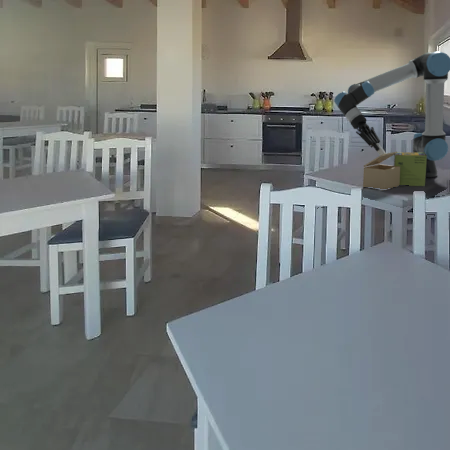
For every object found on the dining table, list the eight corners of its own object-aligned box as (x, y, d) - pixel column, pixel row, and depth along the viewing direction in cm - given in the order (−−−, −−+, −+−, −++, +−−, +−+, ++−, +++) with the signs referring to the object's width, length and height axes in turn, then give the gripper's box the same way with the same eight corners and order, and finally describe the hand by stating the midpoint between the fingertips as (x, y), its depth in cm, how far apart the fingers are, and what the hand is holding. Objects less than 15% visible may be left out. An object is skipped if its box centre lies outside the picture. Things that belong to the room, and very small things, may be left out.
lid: (379, 163, 327) (378, 162, 327) (397, 152, 319) (396, 151, 319) (363, 167, 318) (363, 165, 318) (382, 155, 309) (381, 154, 309)
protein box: (425, 186, 321) (427, 155, 317) (393, 185, 324) (395, 154, 320) (423, 182, 331) (425, 152, 327) (392, 181, 334) (393, 151, 330)
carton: (378, 183, 330) (379, 164, 327) (399, 186, 321) (400, 166, 319) (362, 187, 320) (363, 167, 318) (384, 190, 312) (385, 170, 309)
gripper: (358, 122, 331) (385, 158, 323) (344, 124, 322) (371, 161, 314) (368, 112, 326) (395, 148, 318) (353, 114, 317) (381, 151, 309)
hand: (383, 155), depth 316 cm, fingers closed
